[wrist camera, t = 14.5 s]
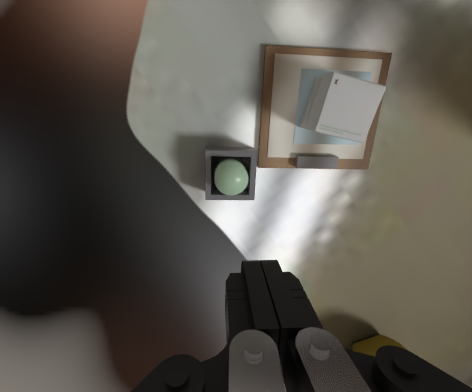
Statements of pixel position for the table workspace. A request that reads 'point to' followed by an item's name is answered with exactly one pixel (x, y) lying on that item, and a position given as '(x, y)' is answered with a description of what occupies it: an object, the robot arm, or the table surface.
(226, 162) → the button
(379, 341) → the flower pot
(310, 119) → the small box
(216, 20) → the table surface
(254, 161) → the button housing
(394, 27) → the table surface
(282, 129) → the picture frame
